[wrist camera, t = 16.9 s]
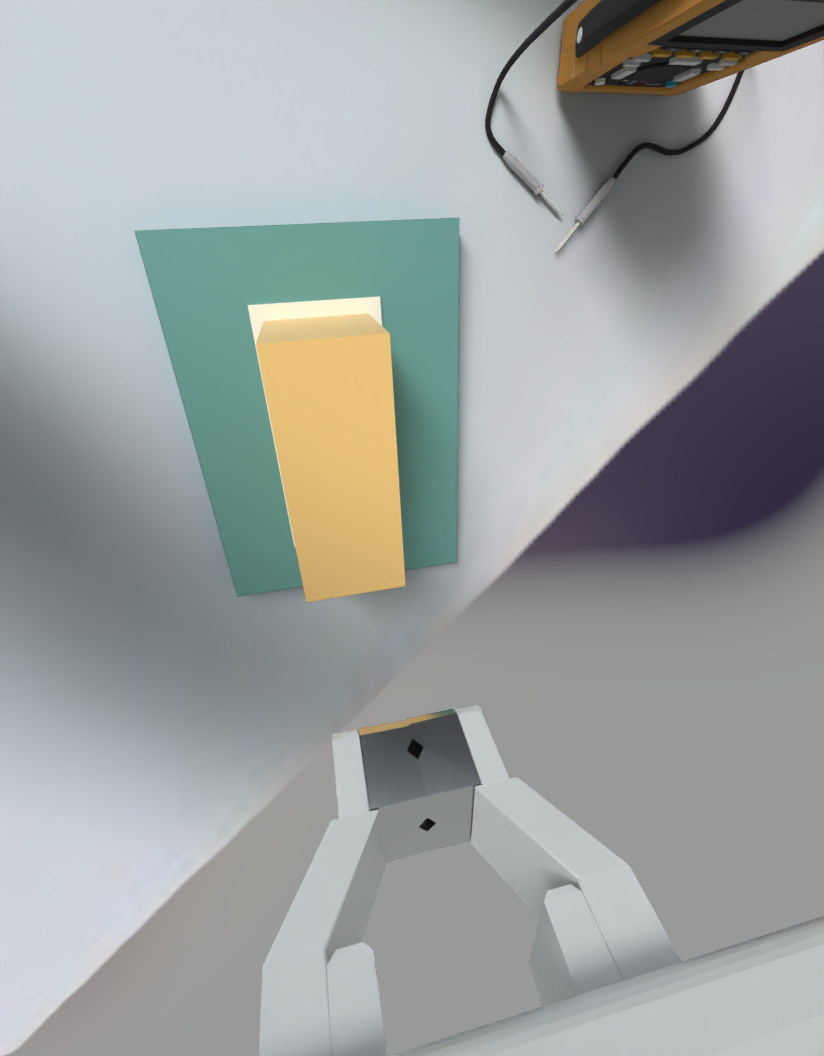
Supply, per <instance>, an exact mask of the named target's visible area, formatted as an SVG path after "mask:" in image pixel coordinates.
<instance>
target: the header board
mask: <svg viewBox="0 0 824 1056" xmlns="http://www.w3.org/2000/svg"><path fill="white" fill-rule="evenodd" d="M135 235H136V238H137V242H138V245H139V249H140V253H141V256H142V260H143V263H144V267H145V270H146V274H147V277H148V281H149V285H150V288H151V292H152V295H153V299H154V302H155V306H156V309H157V313H158V316H159V320H160V324H161V327H162V331H163V334H164V338H165V341H166V345H167V348H168V352H169V356H170V359H171V363H172V366H173V370H174V373H175V377H176V380H177V384H178V388H179V391H180V395H181V398H182V402H183V405H184V409H185V412H186V416H187V420H188V423H189V427H190V430H191V434H192V437H193V441H194V444H195V448H196V452H197V455H198V459H199V462H200V466H201V469H202V473H203V476H204V480H205V484H206V487H207V491H208V494H209V498H210V501H211V505H212V508H213V512H214V516H215V519H216V523H217V526H218V530H219V533H220V537H221V540H222V544H223V548H224V551H225V555H226V558H227V562H228V565H229V569H230V572H231V576H232V580H233V583H234V587H235V590H236V594H237V597H239V596H245V595H251V594H258V593H264V592H270V591H277V590H283V589H289V588H296V587H302V586H303V583H302V578H301V573H300V568H299V562H298V557H297V552H296V547H295V542H294V537H293V532H292V527H291V522H290V517H289V511H288V506H287V501H286V496H285V491H284V486H283V481H282V476H281V471H280V465H279V460H278V455H277V450H276V445H275V440H274V435H273V430H272V425H271V420H270V414H269V409H268V404H267V399H266V394H265V389H264V384H263V379H262V374H261V368H260V363H259V358H258V353H257V348H256V342H257V339H258V336H259V333H260V330H261V327H262V324H263V322H264V321H271V320H284V319H298V318H311V317H325V316H338V315H352V314H365V313H368V314H369V315H370V316H372V317H373V318H374V319H375V320H376V321H377V322H378V323H379V324H380V325H381V326H383V327H384V328H385V329H386V330H387V331H388V332H389V333H390V345H391V361H392V377H393V393H394V409H395V425H396V441H397V457H398V473H399V489H400V505H401V521H402V538H403V554H404V570H410V569H417V568H423V567H429V566H436V565H442V564H448V563H455V562H456V561H457V438H458V314H459V218H440V219H415V220H390V221H366V222H341V223H316V224H291V225H266V226H242V227H217V228H192V229H167V230H143V231H135Z"/></svg>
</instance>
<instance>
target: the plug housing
mask: <svg viewBox="0 0 824 1056" xmlns="http://www.w3.org/2000/svg"><path fill="white" fill-rule="evenodd" d="M256 348H257V353H258V358H259V363H260V368H261V374H262V379H263V384H264V389H265V394H266V399H267V404H268V409H269V414H270V420H271V425H272V430H273V435H274V440H275V445H276V450H277V455H278V460H279V465H280V471H281V476H282V481H283V486H284V491H285V496H286V501H287V506H288V511H289V517H290V522H291V527H292V532H293V537H294V542H295V547H296V552H297V557H298V562H299V568H300V573H301V578H302V583H303V588H304V593H305V598H306V602H312V601H318V600H324V599H330V598H336V597H342V596H349V595H355V594H361V593H367V592H373V591H379V590H385V589H391V588H397V587H403V586H405V570H404V554H403V538H402V521H401V505H400V489H399V473H398V457H397V441H396V425H395V409H394V393H393V377H392V361H391V345H390V333H389V332H388V331H387V330H386V329H385V328H384V327H383V326H381V325H380V324H379V323H378V322H377V321H376V320H375V319H374V318H373V317H372V316H370V315H369V314H368V313H365V314H352V315H338V316H325V317H311V318H298V319H284V320H271V321H264V322H263V324H262V327H261V330H260V333H259V336H258V339H257V342H256Z"/></svg>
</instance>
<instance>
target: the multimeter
mask: <svg viewBox="0 0 824 1056" xmlns="http://www.w3.org/2000/svg"><path fill="white" fill-rule="evenodd" d="M576 1H577V0H565V1H564V2H563V3H562V4H561V5H560V6H559V7H558V8H557V9H556V10H555V11H554V12H553V13H552V14H551V15H550V16H549V17H547V18H546V20H545V21H544V22H543V23H542V24H541V25H540V26H539V27H538V28H537V29H536V30H535V31H534V32H533V33H532V34H531V35H530V36H529V37H528V38H527V39H526V40H525V41H524V42H523V43H522V45H521V46H520V47H519V48H518V49H517V50H516V51H515V53H514V54H513V55H512V57H511V58H510V59H509V61H508V62H507V64H506V65H505V67H504V68H503V70H502V72H501V73H500V75H499V77H498V79H497V82H496V84H495V87H494V89H493V92H492V95H491V98H490V101H489V105H488V109H487V114H486V120H485V127H486V133H487V136H488V138H489V140H490V142H491V143H492V145H493V146H494V147H495V148H496V150H497V151H498V152H499V153H500V154H501V155H502V157H503V159H504V160H505V162H506V163H507V165H508V166H509V167H510V168H511V169H512V170H513V171H514V172H515V173H516V174H517V175H518V176H519V177H520V178H521V179H522V180H523V181H524V182H525V183H526V184H527V185H528V186H529V187H530V189H531V190H532V191H533V192H534V195H538V194H539V193H540V194H541V195H542V196H543V197H544V198H545V199H546V201H547V202H548V203H549V204H550V205H551V206H552V207H553V208H554V209H555V210H556V211H557V212H558V213H560V214H562V215H563V213H562V211H561V210H560V208H559V207H558V206H557V205H556V204H555V203H554V202H553V201H552V200H551V199H550V198H549V197H548V196H547V195H546V194H545V193H544V192H543V191H542V188H543V186H544V185H543V184H540V183H539V182H538V181H537V180H536V179H535V178H534V177H533V176H532V175H531V174H530V173H529V171H528V170H527V169H526V168H525V167H524V166H523V165H522V164H521V163H520V162H519V161H518V160H517V159H516V158H515V157H514V156H513V155H511V154H510V153H509V152H507V151H505V150H504V149H503V148H502V147H501V146H500V144H499V143H498V142H497V141H496V139H495V138H494V136H493V134H492V131H491V127H490V119H491V113H492V109H493V105H494V102H495V99H496V96H497V93H498V90H499V88H500V85H501V83H502V81H503V79H504V77H505V75H506V74H507V72H508V71H509V69H510V68H511V66H512V65H513V64H514V63H515V61H516V60H517V59H518V58H519V56H520V55H521V54H522V53H523V52H524V51H525V50H526V49H527V48H528V46H529V45H530V44H531V43H532V42H533V41H534V40H536V39H537V38H538V37H539V36H540V35H541V34H542V33H543V32H544V31H545V30H546V29H547V28H548V27H549V26H550V25H551V24H552V23H553V22H554V21H555V20H556V19H558V18H559V17H560V16H561V15H562V14H563V13H564V12H565V11H566V10H567V9H568V8H570V7H571V6H572V5H573V4H574V3H575V2H576ZM822 40H824V0H586V1H585V2H584V3H582V4H581V5H580V6H579V7H578V8H576V9H575V10H574V11H573V12H572V13H570V14H569V15H568V16H567V17H566V18H565V20H564V25H563V35H562V45H561V56H560V65H559V75H558V85H557V86H558V88H559V90H560V91H562V92H573V93H575V92H597V93H628V94H657V95H678V94H682V93H685V92H687V91H690V90H692V89H695V88H698V87H700V86H702V85H706V84H708V83H711V82H714V81H716V80H719V79H720V78H724V77H727V76H730V75H732V74H735V73H737V72H738V74H737V77H736V80H735V82H734V85H733V87H732V89H731V92H730V94H729V96H728V99H727V101H726V103H725V105H724V107H723V109H722V111H721V113H720V114H719V116H718V118H717V120H716V121H715V123H714V124H713V125H712V127H711V128H710V129H709V130H708V131H707V132H706V133H705V134H704V135H703V136H702V137H701V138H699V139H698V140H697V141H695V142H693V143H692V144H690V145H688V146H686V147H684V148H682V149H679V150H668V149H665V148H663V147H660V146H658V145H655V144H652V143H643V144H641V145H638V146H637V147H636V148H635V149H634V150H633V151H632V152H631V153H630V154H629V155H628V157H627V158H626V159H625V160H624V162H623V163H622V164H621V165H620V167H619V168H618V169H617V171H616V172H615V174H614V175H613V176H612V177H611V178H610V179H609V180H608V181H607V182H606V183H605V184H604V185H603V186H602V187H601V188H600V190H599V191H598V192H597V193H596V195H595V196H594V197H593V199H592V200H591V201H590V202H589V204H588V205H587V206H586V208H585V209H584V210H583V211H582V213H581V214H580V215H579V216H578V217H577V218H576V219H575V221H576V224H575V225H574V227H573V228H572V229H571V231H570V232H569V233H568V234H567V236H566V237H565V238H564V240H563V241H562V242H561V243H560V245H559V246H558V248H557V250H556V252H557V251H558V250H559V249H561V247H562V246H563V245H564V244H565V242H566V241H567V240H568V239H569V237H570V236H571V235H572V234H573V232H574V231H575V230H576V228H577V227H578V226H579V225H580V226H583V225H584V223H585V221H586V220H587V218H588V217H589V216H590V215H591V213H592V212H593V211H594V210H595V208H596V207H597V206H598V205H599V203H600V202H601V201H602V199H603V198H604V197H605V196H606V194H607V193H608V192H609V191H610V189H611V188H612V186H613V184H614V183H615V180H616V178H617V177H618V176H619V174H620V173H621V172H622V170H623V169H624V168H625V166H626V165H627V164H628V163H629V161H630V160H631V159H632V158H633V157H634V155H635V154H636V153H637V152H638V151H639V150H641V149H643V148H648V149H652V150H654V151H657V152H659V153H662V154H664V155H671V156H672V155H679V154H682V153H684V152H687V151H689V150H690V149H692V148H694V147H696V146H697V145H699V144H700V143H702V142H703V141H704V140H705V139H707V138H708V137H709V136H710V135H711V134H712V132H713V131H714V130H715V129H716V128H717V126H718V125H719V123H720V122H721V120H722V118H723V117H724V115H725V113H726V111H727V109H728V107H729V105H730V103H731V101H732V99H733V97H734V94H735V92H736V90H737V87H738V85H739V83H740V80H741V77H742V75H743V72H744V70H745V69H748V68H751V67H753V66H756V65H759V64H761V63H764V62H767V61H769V60H772V59H775V58H777V57H780V56H783V55H785V54H788V53H790V52H793V51H796V50H798V49H801V48H804V47H806V46H809V45H811V44H814V43H817V42H819V41H822ZM563 216H564V215H563ZM556 252H555V253H556Z"/></svg>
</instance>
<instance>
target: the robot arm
mask: <svg viewBox="0 0 824 1056" xmlns="http://www.w3.org/2000/svg"><path fill="white" fill-rule="evenodd" d="M359 738H360V739H359ZM332 746H333V758H334V769H335V780H336V791H337V802H338V813H339V818H338V819H334V820H331V822H330V824H329V826H328V828H327V830H326V832H325V834H324V836H323V839H322V841H321V843H320V845H319V847H318V849H317V852H316V854H315V856H314V858H313V860H312V862H311V864H310V866H309V868H308V871H307V873H306V875H305V878H304V879H303V882H302V884H301V886H300V888H299V890H298V892H297V894H296V896H295V898H294V901H293V903H292V905H291V907H290V909H289V911H288V913H287V915H286V918H285V920H284V922H283V924H282V926H281V928H280V930H279V933H278V935H277V937H276V939H275V941H274V943H273V946H272V948H271V950H270V952H269V954H268V957H267V958H266V960H265V963H264V965H263V970H262V996H261V1024H260V1051H259V1056H389V1054H388V1046H387V1039H386V1032H385V1024H384V1017H383V1010H382V1003H381V998H380V991H379V984H378V978H377V972H376V965H375V959H374V952H373V949H371V948H370V947H368V946H367V945H366V944H364V943H363V942H362V939H363V936H364V933H365V929H366V926H367V923H368V920H369V916H370V913H371V910H372V907H373V904H374V900H375V897H376V894H377V891H378V888H379V884H380V881H381V878H382V875H383V872H384V868H385V863H386V862H389V861H393V860H396V859H400V858H403V857H407V856H410V855H414V854H417V853H421V852H424V851H428V850H433V849H437V848H442V847H446V846H450V845H455V844H460V843H464V842H468V841H471V844H472V845H473V846H474V848H475V849H476V850H477V851H478V852H479V853H480V854H481V855H482V856H483V858H484V859H485V860H486V861H487V862H488V863H489V864H490V865H491V866H492V867H493V869H494V870H495V871H496V872H497V873H498V874H499V875H500V876H501V877H502V878H503V880H504V881H505V882H506V883H507V884H508V885H509V886H510V887H511V888H512V889H513V890H514V892H515V893H516V894H517V895H518V896H519V897H520V898H521V899H522V900H523V902H524V903H525V904H526V905H527V906H528V907H529V908H530V909H531V910H532V911H533V913H534V914H535V915H536V916H537V917H538V918H539V923H538V927H537V930H536V934H535V938H534V942H533V946H532V950H531V954H530V958H529V961H528V963H529V966H530V969H531V972H532V975H533V978H534V981H535V985H536V988H537V991H538V993H539V997H540V1000H541V1003H542V1006H543V1007H540V1008H537V1009H534V1010H531V1011H528V1012H524V1013H521V1014H518V1015H515V1016H512V1017H509V1018H506V1019H503V1020H500V1021H497V1022H493V1023H490V1024H487V1025H484V1026H481V1027H478V1028H475V1029H472V1030H469V1031H466V1032H462V1033H460V1034H456V1035H453V1036H450V1037H447V1038H444V1039H441V1040H438V1041H435V1042H432V1043H428V1044H426V1045H423V1046H419V1047H416V1048H413V1049H410V1050H407V1051H404V1052H401V1053H397V1054H394V1055H391V1056H824V916H822V917H819V918H816V919H813V920H809V921H806V922H804V923H800V924H797V925H794V926H791V927H788V928H785V929H782V930H778V931H776V932H772V933H769V934H766V935H763V936H760V937H757V938H754V939H751V940H748V941H744V942H741V943H739V944H735V945H732V946H729V947H726V948H723V949H720V950H717V951H714V952H710V953H708V954H704V955H701V956H698V957H695V958H692V959H689V960H686V961H682V962H681V960H680V958H679V956H678V954H677V953H676V951H675V949H674V947H673V945H672V943H671V941H670V939H669V938H668V936H667V934H666V932H665V930H664V929H663V927H662V925H661V923H660V921H659V919H658V917H657V916H656V914H655V912H654V910H653V908H652V907H651V905H650V903H649V901H648V899H647V897H646V895H645V894H644V892H643V890H642V888H641V886H640V884H639V882H638V881H637V879H636V877H635V875H634V873H633V872H632V870H631V868H630V866H629V865H628V864H627V863H625V862H624V861H623V860H622V859H620V858H619V857H618V856H617V855H615V854H614V853H613V852H612V851H610V850H609V849H608V848H606V847H605V846H604V845H603V844H601V843H600V842H599V841H598V840H596V839H595V838H594V837H593V836H591V835H590V834H589V833H588V832H586V831H585V830H584V829H583V828H581V827H580V826H579V825H577V824H576V823H575V822H574V821H573V820H571V819H570V818H569V817H568V816H566V815H565V814H564V813H563V812H561V811H560V810H559V809H557V808H556V807H555V806H554V805H553V804H551V803H550V802H549V801H547V800H546V799H545V798H544V797H542V796H541V795H540V794H539V793H537V792H536V791H535V790H534V789H532V788H531V787H530V786H529V785H527V784H526V783H525V782H524V781H522V780H521V779H520V778H519V777H513V778H510V776H509V774H508V771H507V769H506V767H505V764H504V762H503V759H502V757H501V754H500V752H499V750H498V748H497V745H496V742H495V740H494V738H493V735H492V733H491V730H490V728H489V726H488V723H487V721H486V718H485V716H484V714H483V711H482V709H481V708H480V707H479V706H478V705H471V706H467V707H462V708H458V709H454V710H453V709H449V710H445V711H440V712H436V713H431V714H427V715H422V716H418V717H414V718H409V719H406V720H403V721H398V722H393V723H387V724H382V725H376V726H371V727H366V728H360V729H359V733H358V729H354V730H349V731H344V732H339V733H334V734H332Z"/></svg>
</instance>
